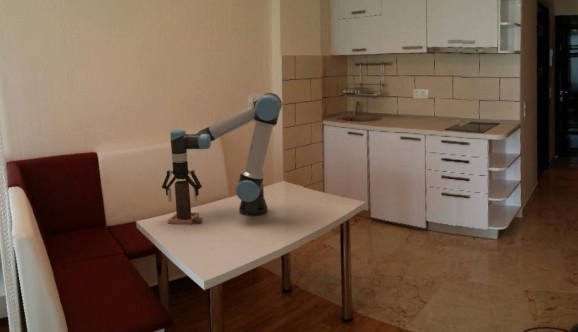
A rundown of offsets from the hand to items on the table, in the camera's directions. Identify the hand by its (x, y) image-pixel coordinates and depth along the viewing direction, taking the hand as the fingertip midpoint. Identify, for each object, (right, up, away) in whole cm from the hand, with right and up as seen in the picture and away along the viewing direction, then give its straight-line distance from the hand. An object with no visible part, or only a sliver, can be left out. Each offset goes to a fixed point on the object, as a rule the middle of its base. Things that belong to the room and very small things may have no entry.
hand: (182, 201), depth 264 cm
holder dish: (0, -9, +2) cm, 10 cm away
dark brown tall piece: (0, -9, +2) cm, 9 cm away
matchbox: (+8, -10, -3) cm, 13 cm away
